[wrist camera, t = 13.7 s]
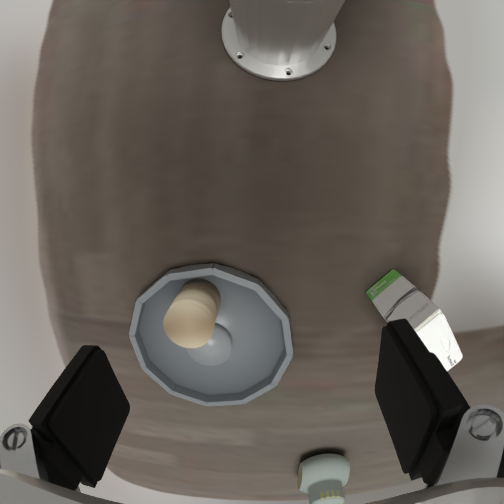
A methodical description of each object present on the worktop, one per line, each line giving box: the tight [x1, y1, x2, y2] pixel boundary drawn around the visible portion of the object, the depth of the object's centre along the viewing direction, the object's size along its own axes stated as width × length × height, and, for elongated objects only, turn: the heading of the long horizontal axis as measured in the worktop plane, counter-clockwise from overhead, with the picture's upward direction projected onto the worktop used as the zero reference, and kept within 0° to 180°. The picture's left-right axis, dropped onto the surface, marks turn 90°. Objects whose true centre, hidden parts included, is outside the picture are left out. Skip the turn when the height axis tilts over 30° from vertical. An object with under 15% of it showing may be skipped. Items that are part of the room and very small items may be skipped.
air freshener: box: [298, 454, 350, 504], centre depth 41 cm, size 11×8×10 cm
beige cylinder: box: [163, 278, 221, 348], centre depth 33 cm, size 5×5×7 cm
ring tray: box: [129, 263, 293, 406], centre depth 38 cm, size 20×20×2 cm
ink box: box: [366, 269, 462, 371], centre depth 31 cm, size 9×5×12 cm, turn 40°
